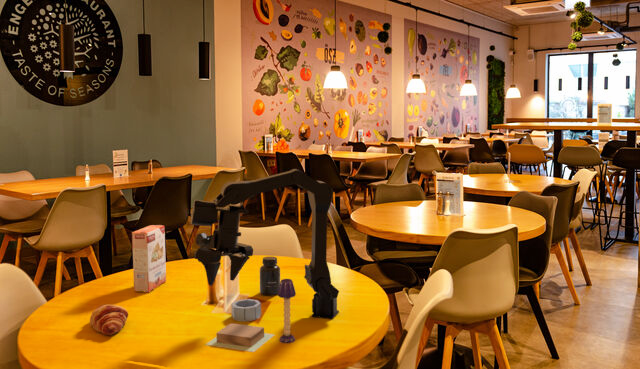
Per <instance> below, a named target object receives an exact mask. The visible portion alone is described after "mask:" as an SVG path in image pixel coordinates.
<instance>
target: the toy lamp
mask: <svg viewBox="0 0 640 369" xmlns="http://www.w3.org/2000/svg"><path fill="white" fill-rule="evenodd" d="M296 294H297V293H296V290H295V285H294V281H293V279H290V278H283V279H280V286H279V290H278V294H277V297H279V298H280V299H281V298H282V299H283V306H284V307H283V317H284V318H283V323H284V324H283V334H282V335H281V336H280V337H279V339H278V340H279V342H280V343H282V344H291V343H294V342H295V341H296V338H295V336H294V335H293V334H291V298H294V297H295V296H296Z"/></svg>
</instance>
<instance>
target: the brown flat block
mask: <svg viewBox="0 0 640 369" xmlns="http://www.w3.org/2000/svg"><path fill="white" fill-rule="evenodd" d="M264 333H265V327H264V326H263V327H262V326H256V325H255V326H254V325H246V324H239V323H229V324H228V325H225V327H223V328H222V329H220V330H219V331H216V337H217V342H219V343H226V344H232V345H239V346H246V347H252V346H253V345H255V344H256V343H257V342H258V341H260V340H261V339H262V338H263V337H264Z"/></svg>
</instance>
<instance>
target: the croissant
mask: <svg viewBox="0 0 640 369" xmlns="http://www.w3.org/2000/svg"><path fill="white" fill-rule="evenodd" d="M89 317H90V318H89V325H90V326H91V325H92V326H91V327H92V328H93V330H95V331H96V332H99V333H101V332H102V333H101V334H103V335H107V336H112V335H114V334H116V332H117V333H118V332H121V330H122V329H123V328H124V327H125V325H126V321H127V319H128V317H129V311H127V309H126V308H125V307H122V306H120V305H115V304H103V305H99V306H97V307H96V308H95V309H94V310H93V311H92V313H91V315H90V316H89ZM122 327H123V328H122Z"/></svg>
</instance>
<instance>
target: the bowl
mask: <svg viewBox="0 0 640 369" xmlns="http://www.w3.org/2000/svg"><path fill="white" fill-rule="evenodd" d="M230 306H231V317H232V319H233V320H234V321H238V322H252V321H255V320H259V319H260V317H261V316H262V303H261V302H260V301H259V300H257V299H251V298H246V299H239V300H235V301H234V302H232V303H231V305H230Z"/></svg>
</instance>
